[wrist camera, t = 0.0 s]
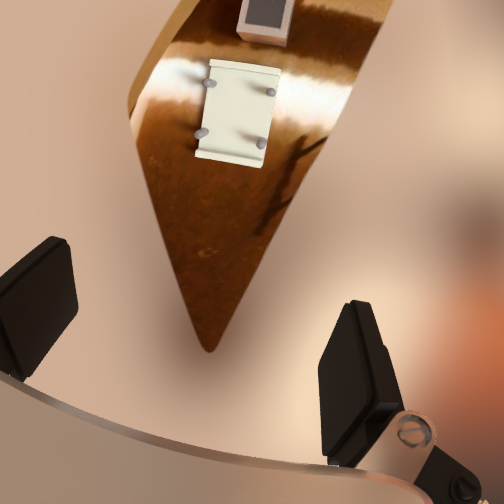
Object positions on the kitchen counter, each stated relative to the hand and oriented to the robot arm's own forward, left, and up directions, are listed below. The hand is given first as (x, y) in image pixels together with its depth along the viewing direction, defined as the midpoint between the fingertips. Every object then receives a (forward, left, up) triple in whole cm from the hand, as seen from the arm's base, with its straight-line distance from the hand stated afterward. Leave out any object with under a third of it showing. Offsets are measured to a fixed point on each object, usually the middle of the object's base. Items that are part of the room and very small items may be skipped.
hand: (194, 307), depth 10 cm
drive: (-17, -2, -31) cm, 36 cm away
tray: (-4, -3, -31) cm, 32 cm away
